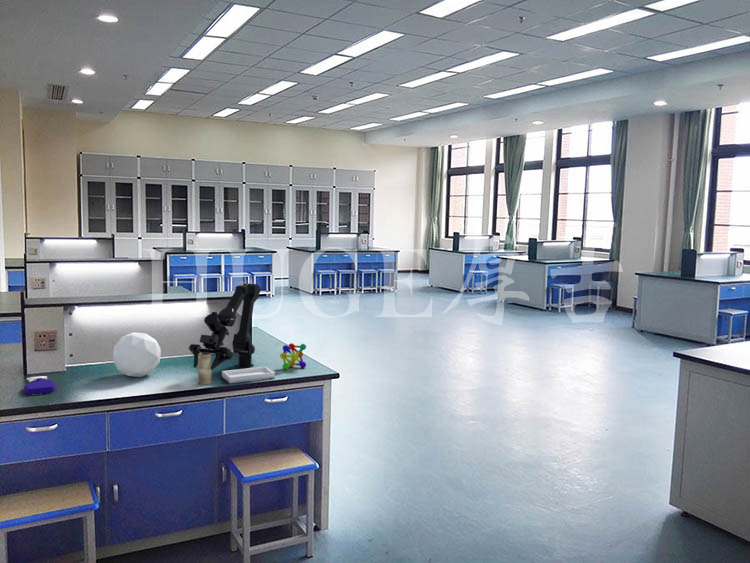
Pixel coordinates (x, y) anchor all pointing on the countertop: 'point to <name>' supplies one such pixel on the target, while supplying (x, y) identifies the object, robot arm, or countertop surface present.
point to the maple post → (204, 368)
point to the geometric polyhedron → (136, 354)
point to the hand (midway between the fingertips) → (202, 368)
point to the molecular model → (293, 356)
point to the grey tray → (247, 374)
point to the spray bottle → (39, 385)
